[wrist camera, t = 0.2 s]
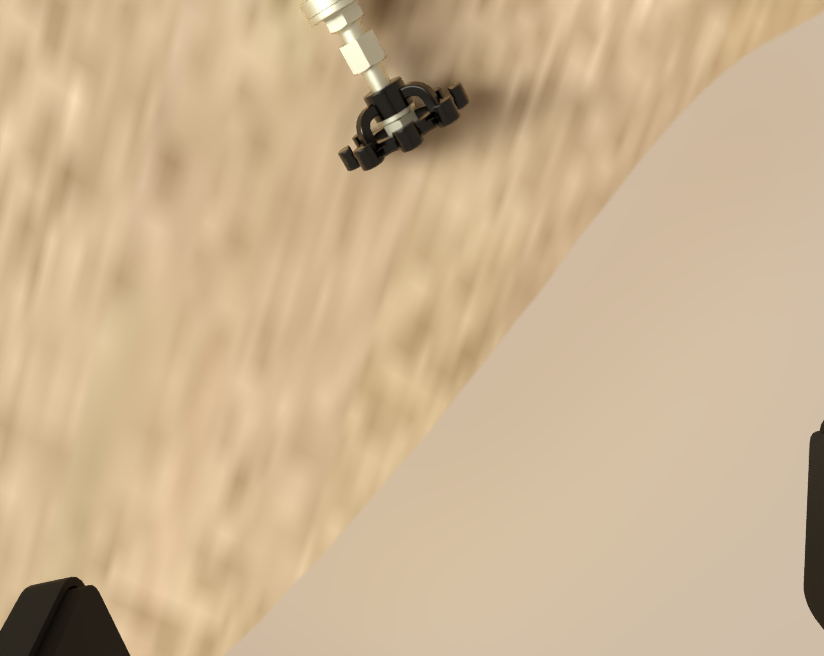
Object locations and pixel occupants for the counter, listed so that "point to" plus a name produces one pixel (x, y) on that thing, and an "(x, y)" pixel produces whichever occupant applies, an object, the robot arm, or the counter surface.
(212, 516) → the counter surface
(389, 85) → the valve
